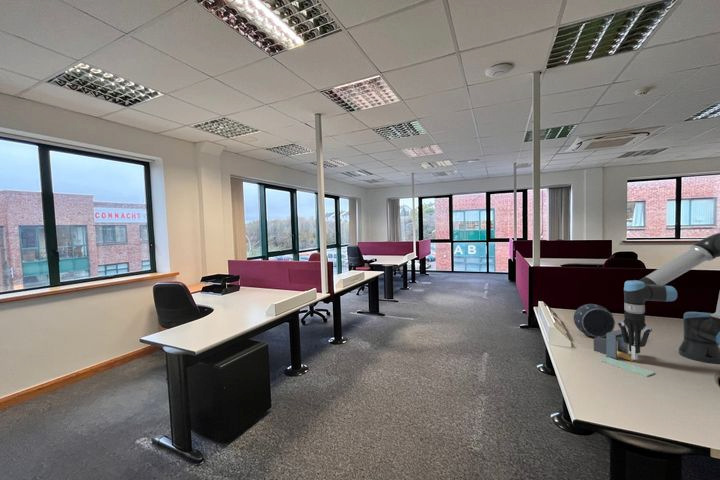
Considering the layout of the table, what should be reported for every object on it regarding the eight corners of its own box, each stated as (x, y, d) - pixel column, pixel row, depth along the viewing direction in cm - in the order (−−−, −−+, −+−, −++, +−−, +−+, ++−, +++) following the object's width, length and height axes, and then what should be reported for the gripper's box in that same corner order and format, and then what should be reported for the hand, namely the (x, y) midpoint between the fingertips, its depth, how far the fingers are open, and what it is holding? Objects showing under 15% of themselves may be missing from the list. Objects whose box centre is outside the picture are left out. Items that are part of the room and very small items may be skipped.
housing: (618, 352, 156) (618, 329, 156) (628, 355, 152) (628, 332, 152) (606, 356, 151) (606, 333, 151) (615, 359, 148) (615, 335, 147)
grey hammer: (599, 349, 161) (599, 336, 161) (635, 360, 147) (635, 346, 147) (593, 350, 159) (593, 338, 159) (630, 362, 145) (630, 348, 145)
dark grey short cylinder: (617, 340, 174) (617, 307, 173) (580, 338, 178) (580, 306, 177) (606, 334, 184) (606, 303, 184) (571, 332, 188) (571, 302, 188)
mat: (608, 358, 149) (608, 357, 149) (654, 373, 133) (654, 372, 133) (600, 361, 147) (600, 359, 147) (646, 376, 130) (646, 375, 130)
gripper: (614, 309, 149) (614, 355, 149) (647, 316, 137) (647, 365, 138) (622, 308, 152) (622, 352, 152) (655, 314, 140) (655, 362, 141)
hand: (634, 358), depth 145 cm, fingers closed
